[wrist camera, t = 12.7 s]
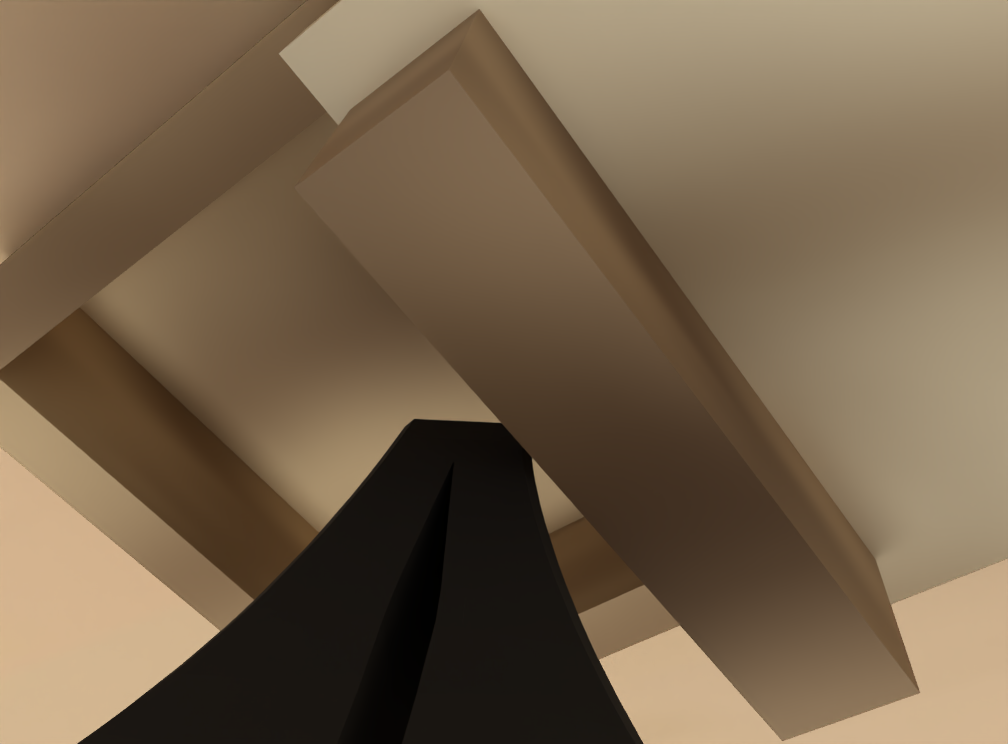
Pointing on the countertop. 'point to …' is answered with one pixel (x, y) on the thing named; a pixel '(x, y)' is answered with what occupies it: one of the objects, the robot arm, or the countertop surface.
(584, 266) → the lid
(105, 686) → the countertop surface
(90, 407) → the brown divided tray
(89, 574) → the countertop surface
